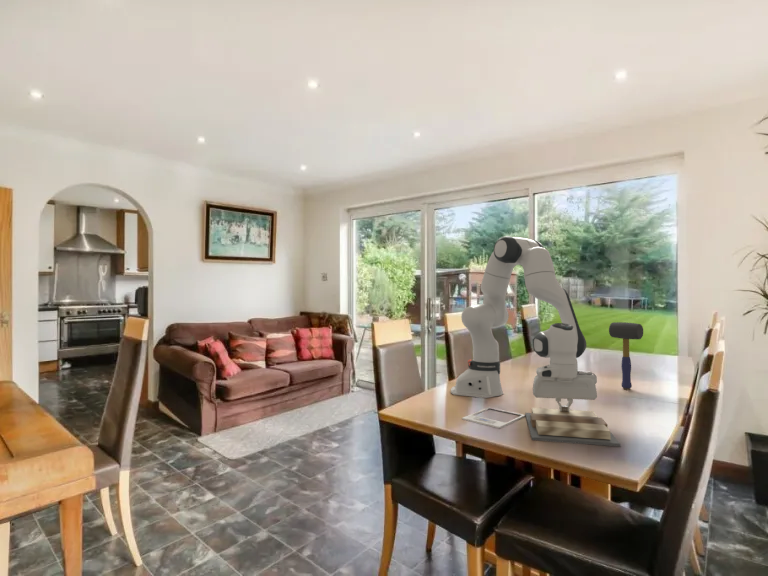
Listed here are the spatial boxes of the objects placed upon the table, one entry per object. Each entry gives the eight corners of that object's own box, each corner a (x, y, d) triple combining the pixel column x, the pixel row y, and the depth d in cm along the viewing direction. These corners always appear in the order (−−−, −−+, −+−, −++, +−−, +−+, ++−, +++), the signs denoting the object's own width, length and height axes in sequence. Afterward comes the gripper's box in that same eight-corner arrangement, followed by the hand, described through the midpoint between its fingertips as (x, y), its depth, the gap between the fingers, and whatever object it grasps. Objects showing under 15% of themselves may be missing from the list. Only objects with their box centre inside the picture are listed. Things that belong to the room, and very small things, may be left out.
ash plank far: (533, 420, 142) (533, 413, 142) (531, 414, 149) (531, 407, 149) (598, 424, 137) (598, 417, 137) (593, 418, 144) (593, 411, 144)
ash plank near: (538, 434, 128) (538, 426, 128) (535, 428, 135) (535, 420, 135) (610, 439, 123) (610, 430, 123) (604, 432, 130) (604, 424, 130)
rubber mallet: (608, 387, 191) (607, 322, 191) (616, 385, 196) (615, 321, 196) (638, 393, 181) (637, 323, 181) (645, 390, 186) (644, 322, 186)
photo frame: (462, 417, 147) (488, 406, 160) (462, 420, 147) (488, 409, 160) (499, 426, 137) (525, 414, 150) (499, 429, 137) (525, 417, 150)
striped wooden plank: (532, 427, 135) (532, 419, 135) (530, 420, 142) (530, 413, 142) (607, 432, 130) (607, 424, 130) (601, 425, 137) (601, 417, 137)
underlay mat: (532, 439, 126) (532, 437, 126) (525, 414, 151) (525, 412, 152) (620, 446, 120) (620, 443, 120) (598, 419, 146) (597, 417, 146)
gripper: (594, 370, 145) (595, 410, 145) (531, 368, 150) (532, 407, 150) (599, 373, 139) (599, 415, 139) (533, 371, 144) (534, 412, 144)
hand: (564, 411), depth 144 cm, fingers closed, pressing on ash plank far
